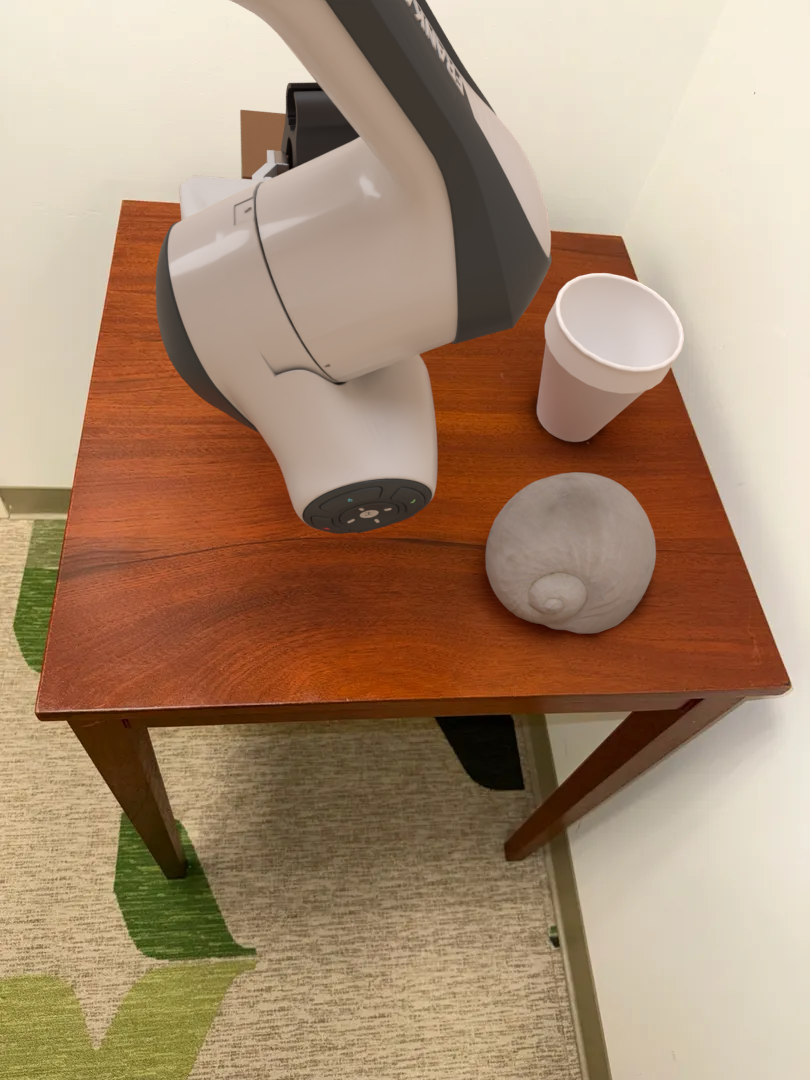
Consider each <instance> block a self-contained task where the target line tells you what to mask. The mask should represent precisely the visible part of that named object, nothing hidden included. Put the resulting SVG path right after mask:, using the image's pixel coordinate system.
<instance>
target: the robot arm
mask: <svg viewBox="0 0 810 1080" xmlns="http://www.w3.org/2000/svg"><path fill="white" fill-rule="evenodd" d="M229 1H230V2H231V3H235V4H236V5H238V6H240V7H242V8H244V9H245V10H247V11H248V12H250V13H252V14H254V15H255V16H257V17H258V18H260V19H261V20H262V21H263V22H264V23H266V24H267V25H268V26H269V28H271V29H272V30H273V31H274V32H275V33H276V34H277V35H278V36H279V38H280V39H281V40H282V41H283V42H284V43H285V45H286V47H288V48H289V50H290V51H291V52H292V53H293V54H294V56H295V58H297V60H298V61H299V62H300V64H301V65H302V66H303V67H304V68H305V70H306V71H307V72H308V73H309V74H310V76H311V77H312V79H313V80H314V81H315V82H317V83H318V85H319V86H320V87H321V88H322V90H323V91H324V92H325V93H326V95H327V96H328V97H329V98H330V100H331V101H332V102H333V103H334V105H335V106H336V107H337V108H338V110H339V111H340V112H341V113H342V114H343V116H344V117H345V118H346V119H347V121H348V122H349V123H350V124H351V126H352V127H353V128H354V129H355V131H356V132H357V133H358V134H359V136H360V137H358V138H357V139H355V140H353V141H351V142H349V143H347V144H345V145H343V146H341V147H338V148H336V149H334V150H332V151H330V152H328V153H325V154H323V155H321V156H319V157H317V158H315V159H313V160H310V161H308V162H306V163H304V164H302V165H300V166H298V167H295V168H293V169H291V170H289V159H288V153H286V152H283V151H274V150H267V163H265V164H264V165H263V166H262V167H261V168H260V169H259V170H258V171H256V172H255V173H254V174H253V175H252V180H251V179H241V178H237V177H222V176H209V175H199V174H198V175H192V176H189V177H188V178H187V179H185V180H183V182H181V183H180V184H179V186H178V194H179V208H180V220H179V221H176V222H174V223H173V224H171V225H170V226H169V229H168V230H167V232H166V234H165V236H164V239H163V241H162V244H161V246H160V250H159V254H158V258H157V264H156V272H155V308H156V309H155V310H156V318H157V323H158V329H159V334H160V336H161V340H162V344H163V346H164V350H165V351H166V354H167V357H168V358H169V360H170V363H171V364H172V366H173V368H174V369H175V371H176V372H177V373H178V375H179V377H180V378H182V380H183V381H184V382H185V383H186V384H187V385H188V386H189V387H190V389H191V391H193V392H194V393H195V395H197V396H198V397H200V398H201V399H202V400H204V401H205V402H206V403H207V404H209V405H210V406H212V407H214V408H215V409H217V410H219V411H221V412H222V413H224V414H226V415H227V416H229V417H231V418H232V419H234V420H235V421H237V422H239V423H240V424H242V425H244V426H245V427H247V428H249V429H250V430H252V431H254V432H256V433H259V435H260V436H261V437H262V438H263V440H264V442H265V443H266V445H267V447H268V448H269V450H270V451H271V453H272V454H273V456H274V458H275V460H276V462H277V464H278V466H279V468H280V471H281V473H282V476H283V479H284V483H285V485H286V490H287V492H288V496H289V499H290V501H291V502H290V503H291V504H292V508H293V510H294V511H295V513H296V516H297V517H298V518H299V519H300V520H301V521H302V522H303V523H304V524H305V525H307V526H308V527H310V528H312V529H315V530H319V531H322V532H326V533H331V534H335V535H336V534H339V535H344V534H361V533H367V532H370V531H374V530H378V529H381V528H385V527H388V526H391V525H394V524H397V523H400V522H403V521H406V520H408V519H410V518H412V517H414V516H416V514H418V513H419V512H420V511H422V510H424V509H425V508H426V507H427V506H428V505H429V504H430V503H431V501H432V500H433V499H434V497H435V494H436V488H437V484H438V483H437V481H438V463H439V462H438V461H439V460H438V458H439V455H438V451H439V450H438V432H437V421H436V420H437V419H436V411H435V403H434V396H433V390H432V383H431V378H430V374H429V371H428V368H427V365H426V363H425V360H424V359H423V358H422V356H421V354H424V353H426V352H429V351H433V350H434V349H437V348H440V347H443V346H445V345H448V344H452V345H457V344H460V343H464V342H468V341H471V340H475V339H478V338H482V337H484V336H488V335H492V334H496V333H499V332H504V331H506V330H510V329H511V330H512V329H513V328H514V327H515V326H516V324H517V323H518V321H520V319H521V318H522V316H523V315H524V313H525V312H526V311H527V309H528V307H529V306H530V304H531V302H532V301H533V300H534V298H535V296H536V294H537V293H538V291H539V289H540V288H541V285H542V283H543V282H544V280H545V277H546V276H547V274H548V271H549V270H550V267H551V264H552V261H553V260H552V259H553V258H552V254H551V249H552V248H551V247H552V233H551V225H550V223H551V222H550V217H549V212H548V207H547V203H546V199H545V196H544V193H543V189H542V187H541V184H540V181H539V179H538V175H537V174H536V171H535V169H534V167H533V165H532V163H531V161H530V159H529V157H528V155H527V153H526V152H525V150H524V148H523V147H522V145H521V144H520V143H519V141H518V139H517V138H516V137H515V135H514V134H513V133H512V132H511V131H510V129H509V128H508V127H507V126H506V124H505V123H504V122H503V121H502V120H501V119H500V117H499V116H498V115H497V113H496V111H495V110H494V109H493V106H491V104H490V102H489V101H488V99H487V97H486V96H485V95H484V93H483V92H482V90H481V89H480V87H479V86H478V84H477V83H476V81H474V79H473V77H472V76H471V74H470V73H469V71H468V70H467V69H466V67H465V65H464V64H463V62H462V61H461V59H460V57H459V56H458V53H457V52H456V50H455V49H454V47H453V45H452V43H451V42H450V40H449V39H448V37H447V35H446V33H445V32H444V30H443V28H442V26H441V25H440V23H439V21H438V19H437V18H436V16H435V14H434V13H433V11H432V9H431V7H430V5H429V3H428V1H427V0H229Z"/></svg>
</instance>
